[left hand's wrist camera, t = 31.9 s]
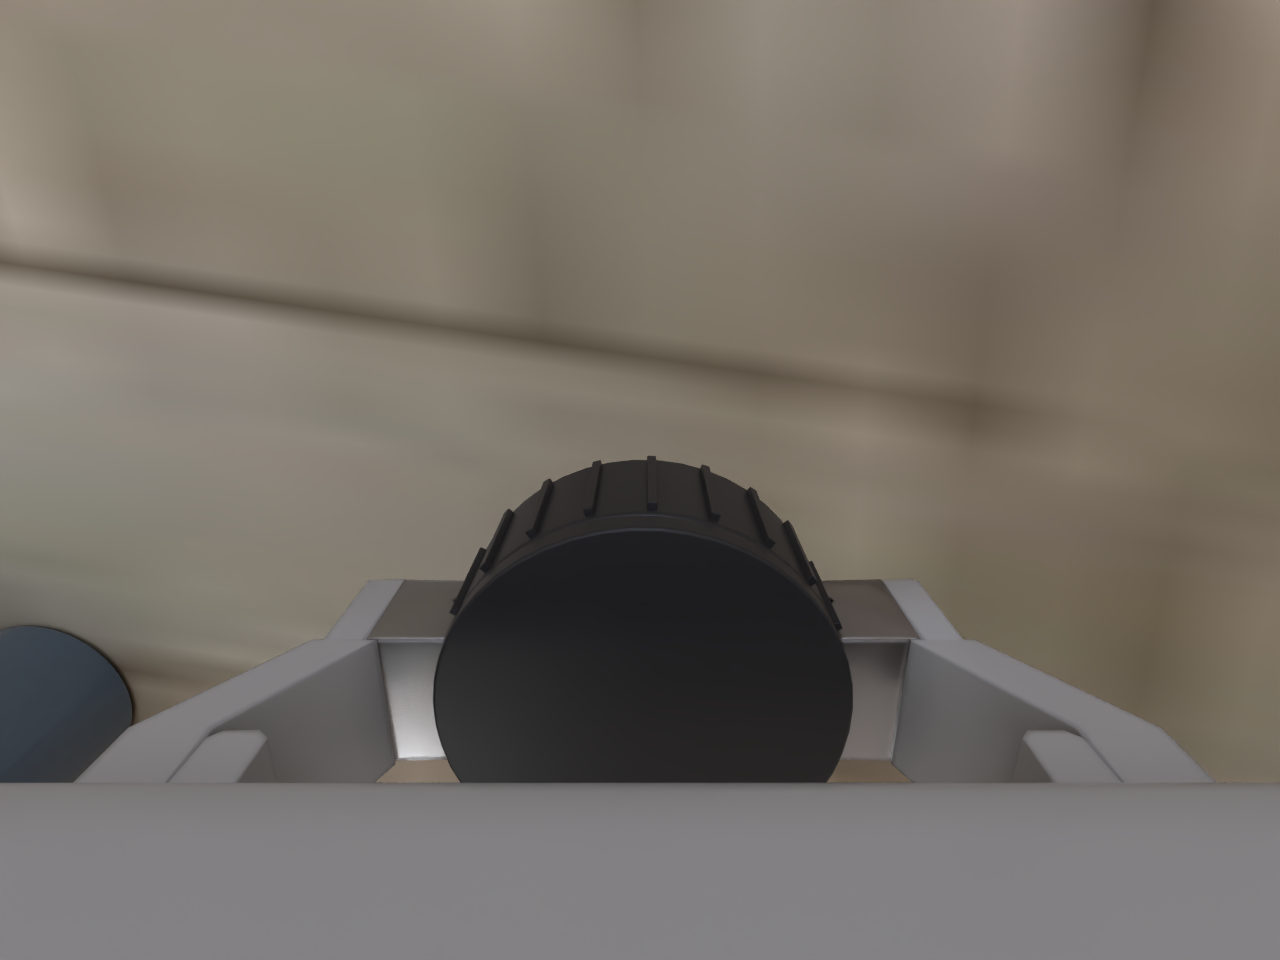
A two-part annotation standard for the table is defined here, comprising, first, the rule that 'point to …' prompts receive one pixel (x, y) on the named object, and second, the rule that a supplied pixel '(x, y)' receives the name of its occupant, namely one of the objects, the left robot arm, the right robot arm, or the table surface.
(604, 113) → the table surface
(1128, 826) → the left robot arm
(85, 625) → the table surface
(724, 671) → the lid
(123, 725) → the dark grey cylinder
